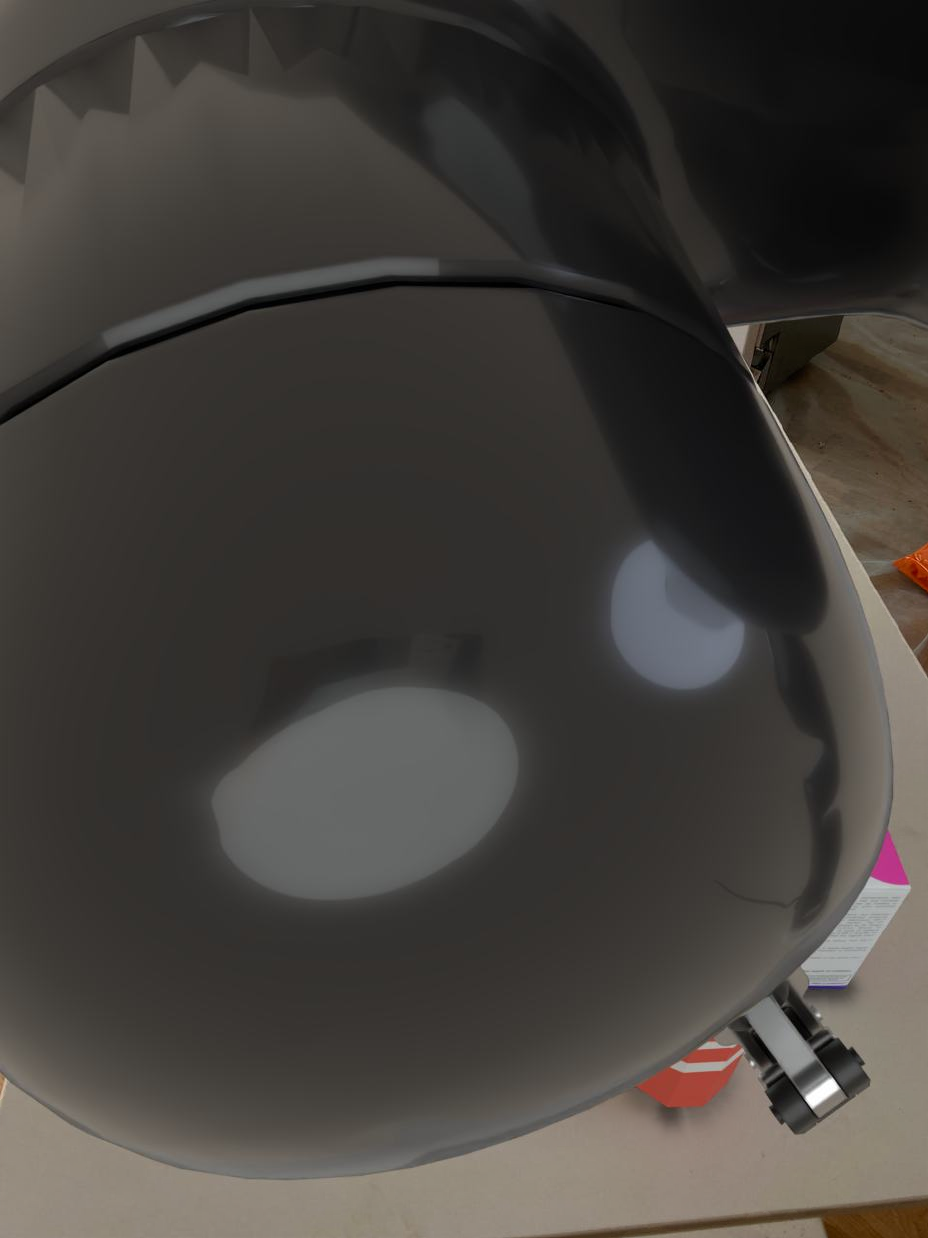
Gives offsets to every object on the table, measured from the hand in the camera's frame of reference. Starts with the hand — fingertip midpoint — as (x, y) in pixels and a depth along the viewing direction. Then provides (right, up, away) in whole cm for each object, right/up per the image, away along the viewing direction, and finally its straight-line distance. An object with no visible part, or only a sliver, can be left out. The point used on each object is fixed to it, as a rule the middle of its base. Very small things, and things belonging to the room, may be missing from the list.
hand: (702, 926), depth 37 cm
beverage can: (+3, -14, +19) cm, 24 cm away
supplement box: (+11, -9, +24) cm, 28 cm away
